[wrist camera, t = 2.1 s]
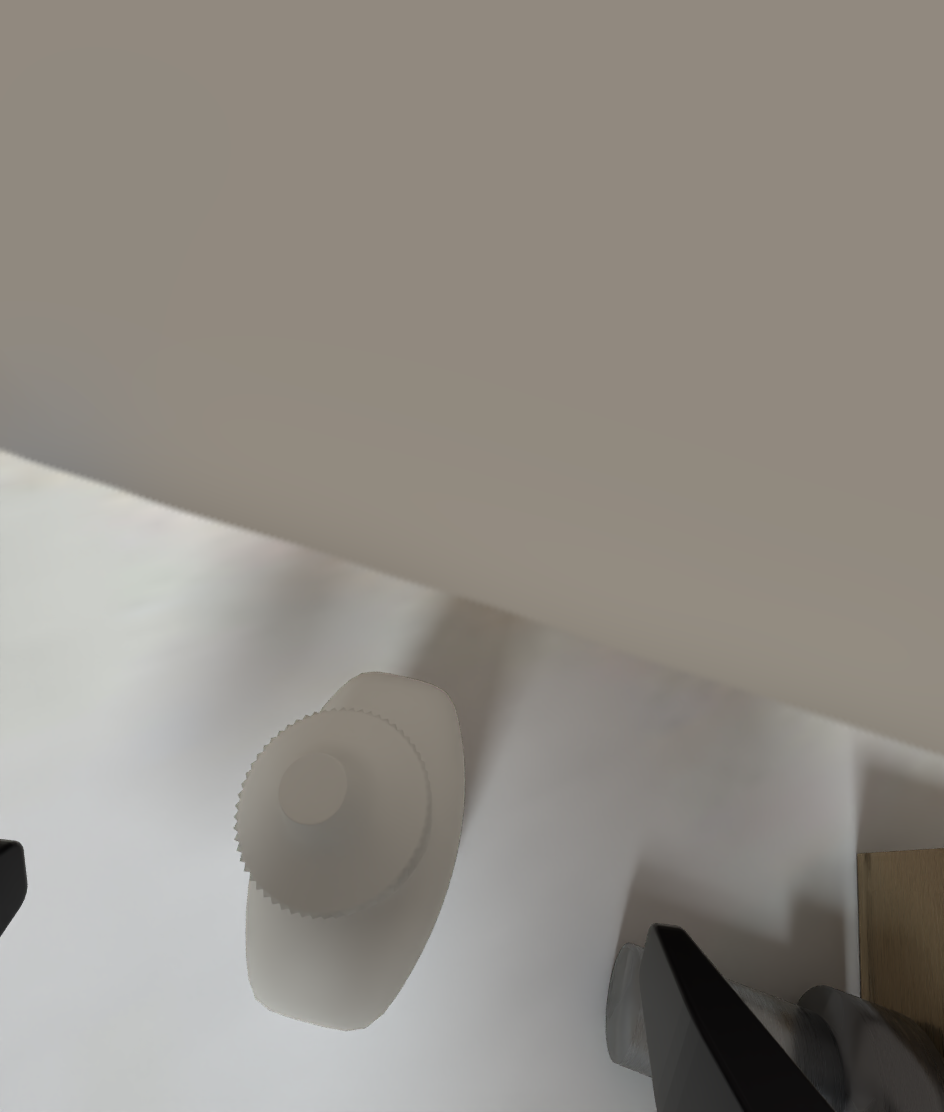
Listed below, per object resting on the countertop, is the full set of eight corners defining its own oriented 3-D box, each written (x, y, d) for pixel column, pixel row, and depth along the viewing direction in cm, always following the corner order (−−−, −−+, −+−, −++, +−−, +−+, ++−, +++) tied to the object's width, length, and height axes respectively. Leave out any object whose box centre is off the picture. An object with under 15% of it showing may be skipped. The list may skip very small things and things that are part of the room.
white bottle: (511, 821, 17) (639, 725, 6) (372, 1003, 14) (211, 1326, 4) (405, 721, 18) (366, 503, 8) (262, 873, 16) (-77, 860, 5)
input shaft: (847, 997, 15) (956, 1028, 12) (851, 1181, 13) (980, 1274, 10) (620, 913, 16) (667, 922, 13) (594, 1078, 14) (641, 1136, 11)
